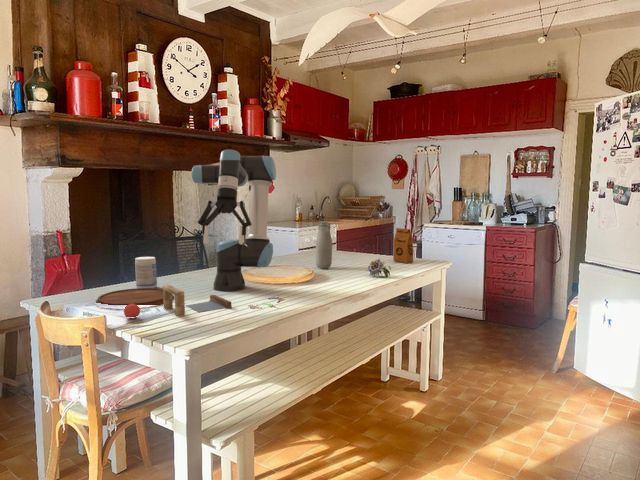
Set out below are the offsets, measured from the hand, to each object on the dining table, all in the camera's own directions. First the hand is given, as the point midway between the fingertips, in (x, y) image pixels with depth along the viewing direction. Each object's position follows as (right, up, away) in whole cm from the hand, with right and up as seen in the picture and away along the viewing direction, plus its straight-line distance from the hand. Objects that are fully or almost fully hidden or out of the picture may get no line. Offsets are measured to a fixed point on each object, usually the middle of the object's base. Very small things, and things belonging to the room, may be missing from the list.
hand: (223, 243), depth 182 cm
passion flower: (+69, -19, +84) cm, 110 cm away
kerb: (-5, -26, +21) cm, 34 cm away
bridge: (-21, -27, +9) cm, 35 cm away
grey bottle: (+39, -16, +107) cm, 115 cm away
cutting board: (-44, -25, +28) cm, 58 cm away
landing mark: (-10, -26, +17) cm, 33 cm away
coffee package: (+90, -13, +132) cm, 161 cm away
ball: (-34, -25, -1) cm, 42 cm away
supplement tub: (-47, -22, +53) cm, 74 cm away
